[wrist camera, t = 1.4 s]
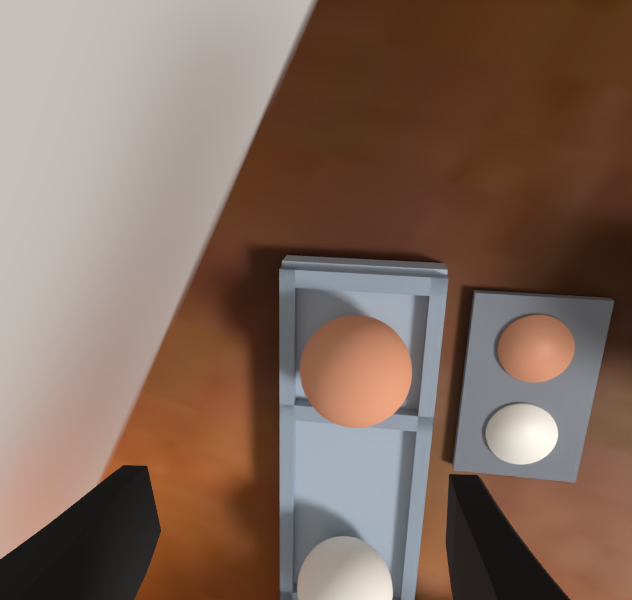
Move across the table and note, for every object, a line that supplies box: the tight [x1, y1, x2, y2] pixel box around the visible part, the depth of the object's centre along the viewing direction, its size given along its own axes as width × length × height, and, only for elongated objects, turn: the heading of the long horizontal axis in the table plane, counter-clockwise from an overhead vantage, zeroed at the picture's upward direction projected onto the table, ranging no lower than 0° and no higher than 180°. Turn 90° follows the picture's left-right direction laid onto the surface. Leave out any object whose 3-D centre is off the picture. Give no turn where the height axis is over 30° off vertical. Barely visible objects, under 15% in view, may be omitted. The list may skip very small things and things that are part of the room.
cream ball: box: [297, 536, 393, 600], centre depth 21 cm, size 4×4×4 cm
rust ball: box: [300, 315, 412, 428], centre depth 18 cm, size 4×4×4 cm
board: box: [279, 255, 448, 600], centre depth 22 cm, size 6×20×2 cm, turn 179°
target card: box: [452, 290, 614, 483], centre depth 20 cm, size 5×8×1 cm, turn 179°
